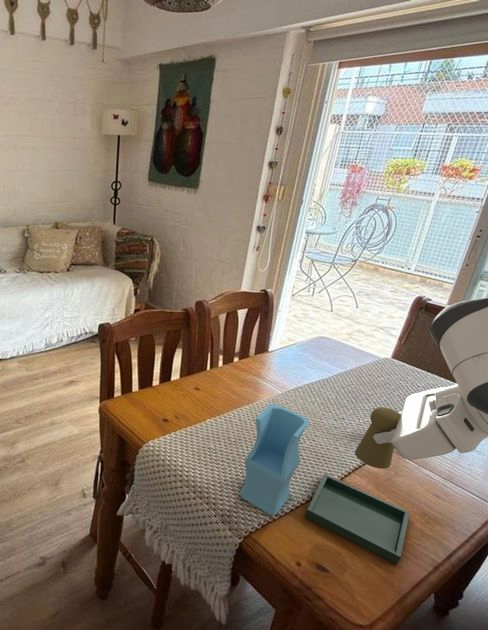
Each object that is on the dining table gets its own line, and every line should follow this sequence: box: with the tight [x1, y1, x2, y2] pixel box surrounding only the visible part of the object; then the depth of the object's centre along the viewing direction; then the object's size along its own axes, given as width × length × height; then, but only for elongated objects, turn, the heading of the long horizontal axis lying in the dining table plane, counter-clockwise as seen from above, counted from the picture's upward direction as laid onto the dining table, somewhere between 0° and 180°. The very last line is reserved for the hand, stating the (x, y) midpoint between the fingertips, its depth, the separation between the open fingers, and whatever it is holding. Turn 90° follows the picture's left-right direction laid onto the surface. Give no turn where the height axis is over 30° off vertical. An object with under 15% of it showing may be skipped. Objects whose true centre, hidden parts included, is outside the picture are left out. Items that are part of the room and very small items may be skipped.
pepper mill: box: [354, 406, 401, 470], centre depth 85 cm, size 6×6×11 cm
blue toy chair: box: [239, 403, 311, 516], centre depth 89 cm, size 8×8×20 cm
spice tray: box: [304, 473, 411, 565], centre depth 88 cm, size 16×14×2 cm
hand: (378, 432), depth 85 cm, fingers closed on pepper mill, 4 cm apart
